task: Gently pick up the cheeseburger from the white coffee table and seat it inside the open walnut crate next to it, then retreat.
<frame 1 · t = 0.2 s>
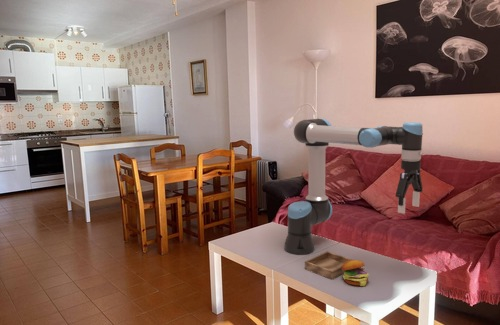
hand: (408, 209, 161), 28 cm above the table, fingers open, 13 cm apart
crate: (329, 268, 169), on the table
cheeseburger: (354, 281, 157), on the table
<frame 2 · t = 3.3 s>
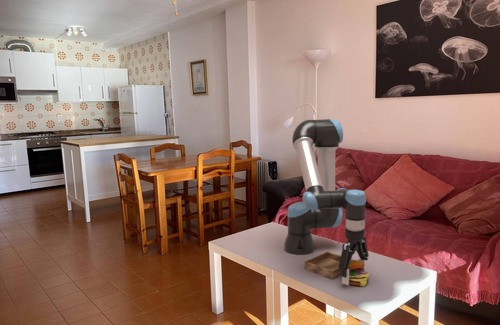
hand: (353, 279, 157), 1 cm above the table, fingers open, 11 cm apart
cheeseburger: (354, 281, 157), on the table, touching gripper
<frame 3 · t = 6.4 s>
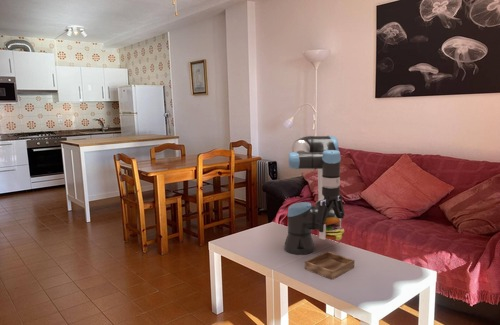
hand: (330, 235, 167), 15 cm above the table, fingers closed on cheeseburger, 11 cm apart
cheeseburger: (331, 237, 167), point 15 cm above the table, touching gripper
when the fingers open (3 cm above the table, at t = 9.1 s): cheeseburger drops 2 cm, resting on crate.
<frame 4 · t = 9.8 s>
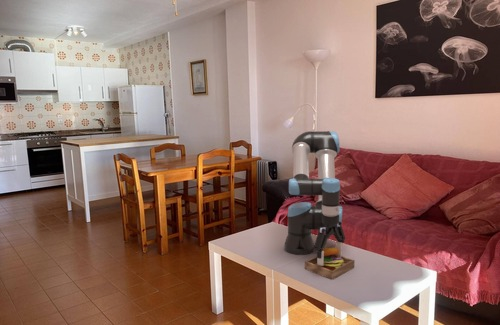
hand: (329, 260, 169), 4 cm above the table, fingers open, 13 cm apart
cheeseburger: (330, 267, 169), point 1 cm above the table, touching crate
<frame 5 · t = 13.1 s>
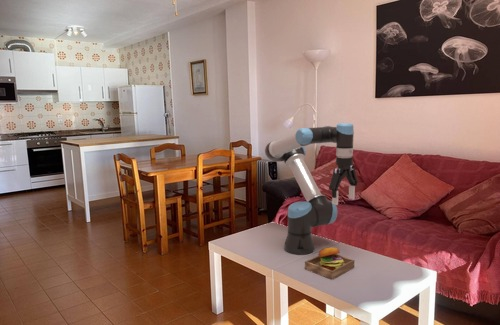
hand: (343, 201, 179), 27 cm above the table, fingers open, 13 cm apart
nothing on the table moved.
at the end: cheeseburger inside the target area on the crate (0.6 cm from its centre), point 0.6 cm above the crate's base; the gripper is holding nothing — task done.
